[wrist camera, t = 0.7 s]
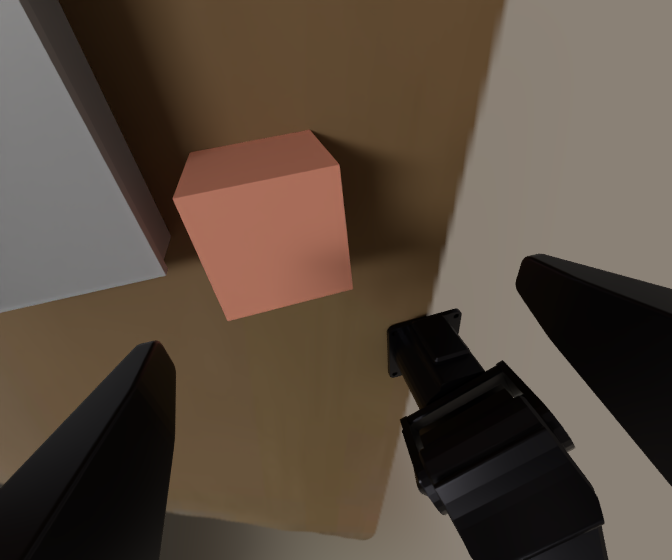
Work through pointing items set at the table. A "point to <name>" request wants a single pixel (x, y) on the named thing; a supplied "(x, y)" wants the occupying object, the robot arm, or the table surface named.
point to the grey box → (65, 171)
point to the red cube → (267, 222)
